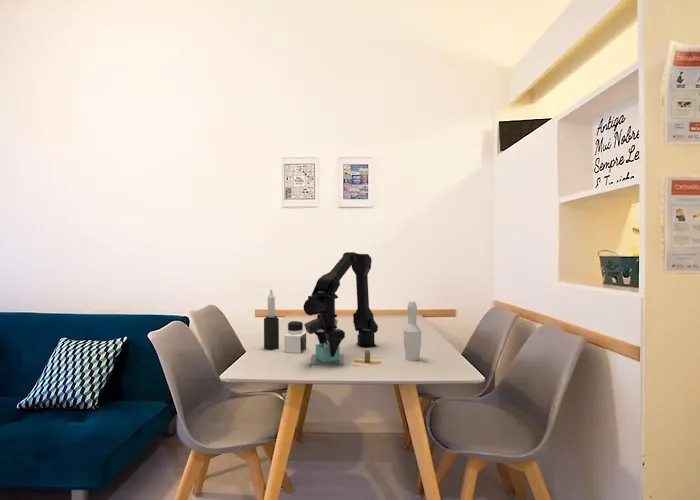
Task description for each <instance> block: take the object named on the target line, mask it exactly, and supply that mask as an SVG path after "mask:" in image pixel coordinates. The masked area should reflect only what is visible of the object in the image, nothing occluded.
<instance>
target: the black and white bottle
mask: <svg viewBox="0 0 700 500" xmlns="http://www.w3.org/2000/svg"><path fill="white" fill-rule="evenodd" d="M275 299H276V297H275V296H274V292H273V289H272V288H271V289H270V290H269V294H268V296H267V315H266V316H265V317H264V318H263V349H264V350H267V351H274V350H279V348H280V335H279V334H280V329H279V327H280V319H279V317H278V316H277V315H276V314H275V313H276V308H275V307H276V304H275V303H276V302H275V301H276V300H275Z"/></svg>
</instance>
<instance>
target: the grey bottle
mask: <svg viewBox="0 0 700 500" xmlns="http://www.w3.org/2000/svg"><path fill="white" fill-rule="evenodd" d="M417 312H418V307H417V302H416V301H412V300H411V301H408V304H407V317H408V318H407V320H408V321H407V322H408V323H407V324H406V326H404V329H403V346H404V354H405V359H406V360H407V361H411V362H412V361H419V360H420V355H421V347H422V330H421V329H420V327H419V325H417V314H418V313H417Z"/></svg>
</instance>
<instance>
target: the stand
mask: <svg viewBox="0 0 700 500" xmlns="http://www.w3.org/2000/svg"><path fill="white" fill-rule="evenodd" d="M352 359H353V360H352V361H353V367H383V363H382V361H381V358H380V357H371V351H370V350H369V349H367V350H366V349H365V350H364V357H354V358H352Z"/></svg>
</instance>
